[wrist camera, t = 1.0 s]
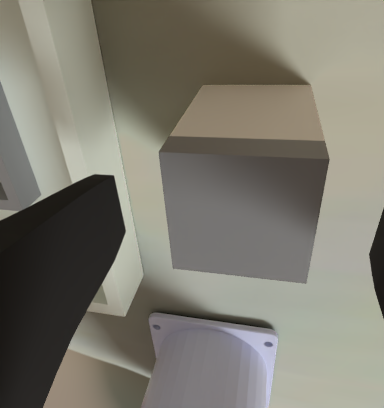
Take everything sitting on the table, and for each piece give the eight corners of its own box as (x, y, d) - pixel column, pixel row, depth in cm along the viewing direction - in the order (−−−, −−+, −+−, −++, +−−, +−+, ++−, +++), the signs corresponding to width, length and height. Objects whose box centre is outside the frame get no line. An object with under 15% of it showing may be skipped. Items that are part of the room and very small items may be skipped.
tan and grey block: (297, 179, 15) (306, 283, 10) (206, 174, 16) (172, 268, 11) (310, 84, 12) (329, 159, 8) (203, 84, 13) (158, 151, 8)
